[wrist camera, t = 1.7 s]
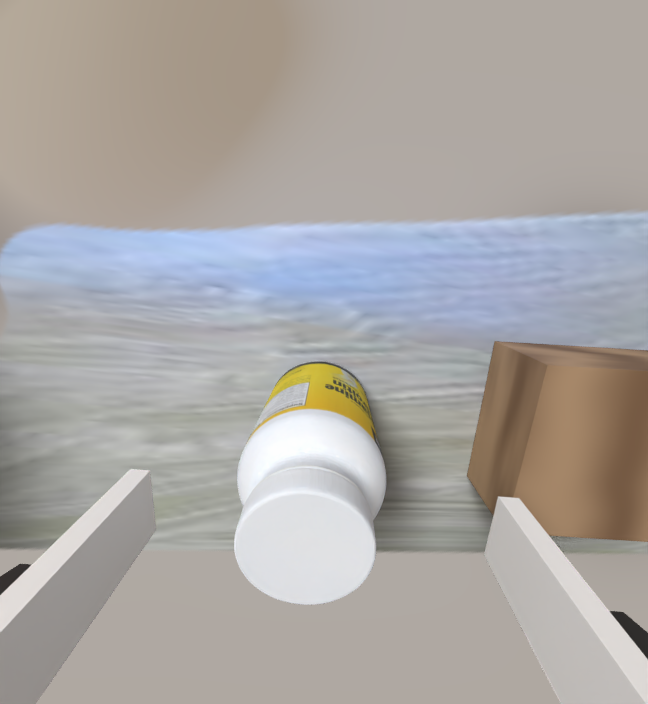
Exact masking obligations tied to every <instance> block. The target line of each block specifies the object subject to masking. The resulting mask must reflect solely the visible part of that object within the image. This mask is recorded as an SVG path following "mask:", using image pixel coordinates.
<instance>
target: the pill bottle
mask: <svg viewBox="0 0 648 704" xmlns="http://www.w3.org/2000/svg"><path fill="white" fill-rule="evenodd" d="M237 484H238V491H239V496H240V499H241V502H242V505H243V510H242V513H241V516H240V519H239V522H238V526H237V529H236V533H235V539H234V551H235V556H236V560H237V562H238V565H239V567H240V569H241V571H242V572H243V574H244V575H245V577H246V578H247V579H248V580H249V582H250V583H252V584H253V585H254V586H255V587H256V588H258V589H259V590H260V591H262V592H263V593H265V594H266V595H269V596H271V597H273V598H275V599H278V600H281V601H285V602H288V603H295V604H307V605H309V604H311V605H312V604H324V603H328V602H332V601H335V600H337V599H340V598H342V597H345V596H346V595H348V594H350V593H351V592H353V591H354V590H356V589H357V588H358V587H359V586H360V585H361V584H362V583H363V582H364V581H365V579H366V578H367V577H368V575H369V573H370V572H371V570H372V568H373V565H374V561H375V556H376V538H375V530H374V523H373V520H374V519H375V517H376V516H377V514H378V512H379V510H380V508H381V506H382V503H383V500H384V496H385V491H386V470H385V464H384V460H383V456H382V453H381V450H380V445H379V442H378V439H377V435H376V432H375V428H374V424H373V420H372V416H371V413H370V409H369V405H368V401H367V398H366V394H365V392H364V389H363V387H362V385H361V384H360V382H359V381H358V380H357V378H356V377H355V376H354V375H353V374H352V373H351V372H349V371H348V370H347V369H345V368H343V367H342V366H340V365H337V364H335V363H331V362H327V361H310V362H306V363H302V364H299V365H297V366H295V367H293V368H292V369H290V370H289V371H287V372H286V373H285V374H284V375H283V376H282V377H281V378H280V379H279V381H278V382H277V384H276V385H275V387H274V389H273V391H272V393H271V395H270V397H269V399H268V401H267V403H266V405H265V407H264V409H263V411H262V413H261V415H260V417H259V419H258V421H257V423H256V425H255V427H254V429H253V431H252V433H251V435H250V437H249V439H248V441H247V443H246V446H245V448H244V450H243V453H242V455H241V458H240V461H239V466H238V473H237Z"/></svg>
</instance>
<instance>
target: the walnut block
mask: <svg viewBox="0 0 648 704" xmlns="http://www.w3.org/2000/svg"><path fill="white" fill-rule="evenodd" d="M467 477H468V478H469V480H470V481H471V483H472V484H473V486H474V487H475V489H476V490H477V492H478V493H479V495H480V496H481V498H482V499H483V501H484V502H485V504H486V506H487V507H488V509H489V510H490V512H491V513H492V515H493V516H494V511H495V507H496V503H497V499H498V496H499V497H512V498H519V499H520V500H521V501H522V502H523V504H524V505H525V506H526V507H527V509H528V510H529V511H530V513H531V514H532V515H533V516H534V518H535V519H536V520H537V521H538V523H539V524H540V525H541V526H542V528H543V529H544V530H545V531H546V533H547V534H548V535H549V536H565V537H580V538H596V539H612V540H628V541H644V542H648V351H647V350H630V349H613V348H597V347H580V346H563V345H547V344H530V343H513V342H497V341H495V343H494V348H493V353H492V357H491V362H490V367H489V372H488V377H487V382H486V386H485V391H484V396H483V401H482V406H481V411H480V415H479V420H478V425H477V430H476V435H475V440H474V444H473V449H472V454H471V459H470V464H469V469H468V473H467Z"/></svg>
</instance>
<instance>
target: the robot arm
mask: <svg viewBox="0 0 648 704" xmlns="http://www.w3.org/2000/svg"><path fill="white" fill-rule="evenodd" d="M155 531H156V523H155V513H154V503H153V493H152V484H151V474H150V470H136V469H130V470H129V471H128V472H127V473H126V474H125V475H124V476H123V477H122V478H121V479H120V480H119V481H118V482H117V483H116V484H115V485H113V486H112V487H111V488H110V489H109V490H108V491H107V492H106V493H105V494H104V495H103V496H102V497H101V498H100V499H99V500H98V501H97V502H96V503H95V504H94V505H93V506H92V507H91V508H90V509H89V510H88V511H87V512H86V513H85V514H84V515H83V516H82V517H80V518H79V519H78V520H77V521H76V522H75V523H74V524H73V525H72V526H71V527H70V528H69V529H68V530H67V531H66V532H65V533H64V534H63V535H62V536H61V537H60V538H59V539H58V540H57V541H56V542H55V543H54V544H53V545H52V546H51V547H50V548H49V549H48V550H46V552H44V553H43V554H42V555H41V556H40V557H39V558H38V559H37V560H36V561H35V562H34V563H33V564H32V565H28V564H19V565H18V566H16V567H15V568H13V569H11V570H10V571H8V572H7V573H5V574H4V575H2V576H1V577H0V704H36V702H37V701H38V700H39V698H40V697H41V695H42V694H43V692H44V691H45V689H46V688H47V687H48V685H49V684H50V682H51V681H52V679H53V678H54V676H55V675H56V674H57V672H58V671H59V669H60V668H61V666H62V665H63V663H64V662H65V661H66V659H67V658H68V656H69V655H70V653H71V652H72V651H73V649H74V648H75V646H76V645H77V643H78V642H79V640H80V639H81V637H82V636H83V635H84V633H85V632H86V630H87V629H88V627H89V626H90V624H91V623H92V622H93V620H94V619H95V617H96V616H97V614H98V613H99V611H100V610H101V609H102V607H103V606H104V604H105V603H106V601H107V600H108V598H109V597H110V596H111V594H112V593H113V591H114V589H115V588H116V587H117V585H118V584H119V583H120V581H121V580H122V578H123V577H124V575H125V574H126V572H127V571H128V570H129V568H130V567H131V565H132V564H133V562H134V561H135V559H136V558H137V557H138V555H139V554H140V552H141V551H142V549H143V548H144V546H145V545H146V544H147V542H148V541H149V539H150V538H151V536H152V535H153V533H154V532H155ZM484 556H485V558H486V560H487V562H488V564H489V566H490V568H491V570H492V572H493V574H494V576H495V578H496V580H497V582H498V584H499V586H500V587H501V589H502V591H503V593H504V595H505V597H506V599H507V601H508V603H509V605H510V607H511V609H512V611H513V613H514V615H515V617H516V618H517V620H518V622H519V624H520V626H521V628H522V630H523V632H524V634H525V636H526V638H527V640H528V642H529V644H530V646H531V647H532V650H533V651H534V653H535V655H536V657H537V659H538V661H539V663H540V665H541V667H542V669H543V671H544V673H545V675H546V677H547V679H548V680H549V682H550V684H551V686H552V688H553V690H554V692H555V694H556V696H557V698H558V700H559V702H560V704H648V633H647V632H646V631H645V630H643V628H641V627H640V626H639V625H638V624H637V623H635V622H634V621H633V620H632V619H631V618H629V617H628V616H627V615H626V614H625V613H623V612H615V611H609V610H608V609H607V608H606V607H605V605H604V604H603V603H602V602H601V601H600V599H599V598H598V596H597V595H596V594H595V593H594V591H593V590H592V589H591V588H590V587H589V585H588V584H587V583H586V581H585V580H584V579H583V578H582V576H581V575H580V574H579V573H578V571H577V570H576V569H575V568H574V567H573V565H572V564H571V563H570V561H569V560H568V559H567V558H566V556H565V555H564V554H563V553H562V551H561V550H560V549H559V548H558V546H557V545H556V544H555V543H554V541H553V540H552V539H551V538H550V536H549V535H548V534H547V533H546V531H545V530H544V529H543V528H542V526H541V525H540V524H539V523H538V521H537V520H536V519H535V518H534V516H533V515H532V514H531V513H530V511H529V510H528V509H527V507H526V506H525V505H524V504H523V502H522V501H521V500H520V499H519V498H512V497H499V496H498V499H497V503H496V507H495V511H494V516H493V520H492V524H491V528H490V532H489V536H488V541H487V545H486V549H485V553H484Z"/></svg>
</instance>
